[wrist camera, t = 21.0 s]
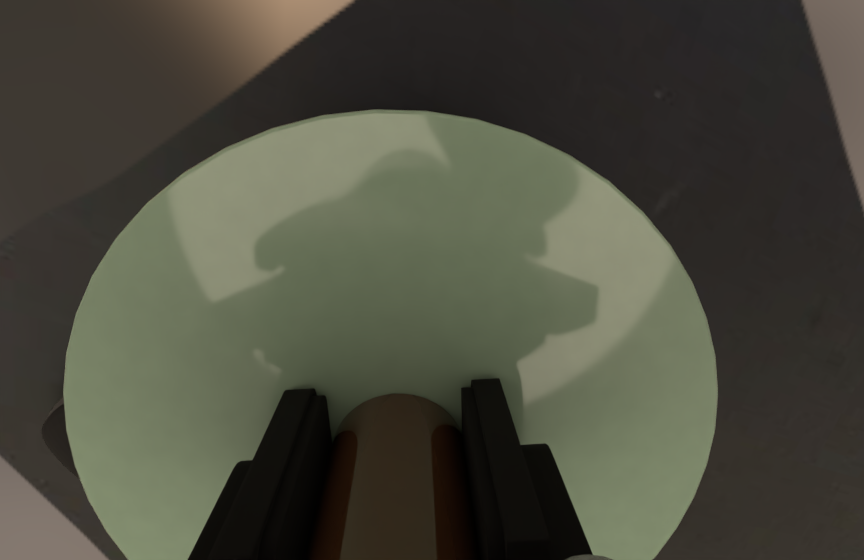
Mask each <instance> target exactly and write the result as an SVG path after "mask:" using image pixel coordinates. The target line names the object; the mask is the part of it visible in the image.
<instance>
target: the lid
mask: <svg viewBox="0 0 864 560" xmlns="http://www.w3.org/2000/svg"><path fill="white" fill-rule="evenodd" d="M493 378H499V379H500V382H501V385H502V388H503V391H504V394H505V397H506V401H507V404H508V407H509V410H510V413H511V416H512V419H513V423H514V426H515V429H516V432H517V435H518V438H519V441H520V445H526V444H543V443H546V444H547V445H548V446H549V448H550V449H551V452H552V454H553V457H554V459H555V462H556V464H557V467H558V469H559V471H560V474H561V476H562V479H563V481H564V484H565V486H566V489H567V491H568V494H569V496H570V499H571V501H572V504H573V506H574V509H575V511H576V514H577V516H578V519H579V521H580V524H581V526H582V529H583V531H584V534H585V536H586V539H587V541H588V544H589V546H590V549H591V551H592V554H593V555H598V556H605V557H607V558H610V559H613V560H653V559H654V558H655V557H656V556H657V555H658V553H659V552H660V550H661V549H662V548H663V546H664V545H665V544H666V542H667V541H668V539H669V538H670V537H671V535H672V534H673V533H674V531H675V530H676V529H677V527H678V525H679V524H680V522H681V520H682V518H683V516H684V515H685V513H686V511H687V509H688V507H689V505H690V504H691V502H692V500H693V498H694V496H695V494H696V491H697V489H698V486H699V483H700V481H701V478H702V476H703V473H704V470H705V468H706V465H707V462H708V458H709V453H710V449H711V445H712V440H713V436H714V432H715V424H716V412H717V400H718V386H717V371H716V357H715V352H714V348H713V343H712V339H711V335H710V330H709V326H708V321H707V317H706V315H705V312H704V310H703V307H702V305H701V302H700V300H699V297H698V295H697V292H696V290H695V287H694V285H693V282H692V280H691V278H690V277H689V275H688V273H687V272H686V270H685V268H684V267H683V265H682V263H681V261H680V260H679V258H678V256H677V255H676V253H675V251H674V250H673V248H672V246H671V245H670V243H669V242H668V241H667V240H666V239H665V237H664V236H663V235H662V234H661V233H660V231H659V230H658V229H657V228H656V226H655V225H654V224H653V223H652V222H651V220H650V219H649V218H648V217H647V215H646V214H645V213H644V212H643V211H642V210H641V209H640V208H639V207H638V206H637V205H635V204H634V203H633V202H632V201H631V200H630V199H629V198H628V197H627V196H625V195H624V194H623V193H622V192H621V191H620V190H619V189H618V188H617V187H615V186H614V185H613V184H612V183H611V182H610V181H609V180H607V179H606V178H604V177H602V176H601V175H599V174H598V173H596V172H595V171H593V170H592V169H590V168H589V167H587V166H586V165H584V164H583V163H581V162H580V161H578V160H577V159H575V158H574V157H572V156H571V155H569V154H567V153H565V152H563V151H561V150H558V149H556V148H554V147H552V146H550V145H548V144H546V143H544V142H542V141H539V140H537V139H535V138H533V137H531V136H529V135H527V134H524V133H521V132H518V131H514V130H511V129H508V128H505V127H502V126H498V125H495V124H492V123H489V122H486V121H482V120H479V119H475V118H468V117H462V116H456V115H450V114H444V113H438V112H432V111H424V110H384V109H372V110H363V111H355V112H346V113H337V114H328V115H321V116H317V117H313V118H309V119H305V120H302V121H298V122H294V123H290V124H286V125H282V126H278V127H274V128H271V129H269V130H266V131H264V132H262V133H259V134H257V135H254V136H252V137H250V138H247V139H245V140H242V141H240V142H238V143H235V144H233V145H230V146H228V147H226V148H224V149H222V150H220V151H219V152H217V153H215V154H214V155H212V156H210V157H209V158H207V159H205V160H204V161H202V162H200V163H199V164H197V165H195V166H194V167H192V168H190V169H189V170H187V171H185V172H184V173H182V174H181V175H180V176H179V177H178V178H176V179H175V180H174V181H173V182H172V183H170V184H169V185H168V186H167V187H166V188H164V189H163V190H162V191H161V192H159V193H158V194H157V195H156V196H155V197H153V198H152V199H151V200H150V201H149V202H147V203H146V204H145V206H144V207H143V208H142V209H141V210H140V211H139V212H138V213H137V215H136V216H135V217H134V218H133V219H132V220H131V221H130V222H129V224H128V225H127V226H126V227H125V228H124V229H123V230H122V231H121V233H120V234H119V235H118V236H117V237H116V239H115V240H114V242H113V243H112V245H111V246H110V248H109V250H108V251H107V253H106V254H105V256H104V257H103V259H102V261H101V262H100V264H99V265H98V267H97V268H96V270H95V272H94V273H93V275H92V277H91V280H90V282H89V284H88V287H87V289H86V291H85V294H84V296H83V298H82V301H81V303H80V305H79V308H78V310H77V313H76V316H75V320H74V324H73V328H72V332H71V336H70V340H69V344H68V348H67V352H66V363H65V375H64V388H63V396H64V409H65V421H66V431H67V436H68V440H69V444H70V448H71V452H72V456H73V461H74V465H75V468H76V470H77V473H78V475H79V478H80V480H81V483H82V485H83V488H84V490H85V493H86V495H87V498H88V500H89V502H90V504H91V506H92V507H93V509H94V511H95V513H96V514H97V516H98V518H99V519H100V521H101V523H102V525H103V526H104V528H105V530H106V532H107V533H108V534H109V536H110V537H111V538H112V540H113V541H114V542H115V543H116V545H117V546H118V547H119V549H120V550H121V551H122V553H123V554H124V555H125V556H126V558H127V559H128V560H188V558H189V556H190V554H191V552H192V550H193V548H194V546H195V544H196V542H197V540H198V538H199V536H200V534H201V532H202V530H203V528H204V526H205V524H206V522H207V520H208V518H209V516H210V514H211V512H212V510H213V508H214V506H215V504H216V502H217V500H218V498H219V496H220V494H221V492H222V490H223V488H224V486H225V484H226V482H227V480H228V478H229V476H230V474H231V472H232V470H233V468H234V467H235V465H236V464H237V463H238V462H240V461H246V460H253V458H254V456H255V454H256V451H257V449H258V447H259V445H260V443H261V440H262V438H263V436H264V434H265V432H266V430H267V427H268V425H269V423H270V421H271V419H272V416H273V414H274V412H275V410H276V408H277V406H278V403H279V401H280V399H281V397H282V395H283V393H284V391H285V390H292V389H310V388H314V389H315V390H316V393H317V395H325V396H326V399H327V405H328V413H329V421H330V430H331V438H332V448H331V452H330V456H329V460H328V464H327V468H326V472H325V477H324V481H323V485H322V489H321V493H320V497H319V501H318V506H317V510H316V514H315V518H314V522H313V526H312V530H311V535H310V539H309V543H308V547H307V551H306V555H305V559H304V560H481V557H480V551H479V544H478V537H477V531H476V524H475V517H474V510H473V504H472V497H471V490H470V484H469V477H468V470H467V464H466V457H465V450H464V443H463V437H462V410H461V388H462V387H471V380H474V379H493Z"/></svg>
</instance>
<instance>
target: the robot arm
mask: <svg viewBox="0 0 864 560" xmlns="http://www.w3.org/2000/svg"><path fill="white" fill-rule="evenodd" d="M461 410H462V437H463V443H464V450H465V457H466V464H467V470H468V477H469V484H470V490H471V497H472V504H473V510H474V517H475V524H476V531H477V537H478V544H479V551H480V557H481V560H613V559H610V558H607V557H605V556H598V555H593V554H592V551H591V549H590V546H589V544H588V541H587V539H586V536H585V534H584V531H583V529H582V526H581V524H580V521H579V519H578V516H577V514H576V511H575V509H574V506H573V504H572V501H571V499H570V496H569V494H568V491H567V489H566V486H565V484H564V481H563V479H562V476H561V474H560V471H559V469H558V467H557V464H556V462H555V459H554V457H553V454H552V452H551V449H550V448H549V446H548V445H547V444H546V443H543V444H526V445H520V441H519V438H518V435H517V432H516V429H515V426H514V423H513V419H512V416H511V413H510V410H509V407H508V404H507V401H506V397H505V394H504V391H503V388H502V385H501V382H500V379H499V378H493V379H474V380H471V387H462V388H461ZM331 448H332V438H331V430H330V421H329V413H328V405H327V399H326V396H325V395H317V393H316V390H315V389H314V388H310V389H292V390H285V391H284V393H283V395H282V397H281V399H280V401H279V403H278V406H277V408H276V410H275V412H274V414H273V416H272V419H271V421H270V423H269V425H268V427H267V430H266V432H265V434H264V436H263V438H262V440H261V443H260V445H259V447H258V449H257V451H256V454H255V456H254V458H253V460H246V461H240V462H238V463H237V464H236V465H235V467H234V468H233V470H232V472H231V474H230V476H229V478H228V480H227V482H226V484H225V486H224V488H223V490H222V492H221V494H220V496H219V498H218V500H217V502H216V504H215V506H214V508H213V510H212V512H211V514H210V516H209V518H208V520H207V522H206V524H205V526H204V528H203V530H202V532H201V534H200V536H199V538H198V540H197V542H196V544H195V546H194V548H193V550H192V552H191V554H190V556H189V558H188V560H304V559H305V555H306V551H307V547H308V543H309V539H310V535H311V530H312V526H313V522H314V518H315V514H316V510H317V506H318V501H319V497H320V493H321V489H322V485H323V481H324V477H325V472H326V468H327V464H328V460H329V456H330V452H331Z"/></svg>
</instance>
